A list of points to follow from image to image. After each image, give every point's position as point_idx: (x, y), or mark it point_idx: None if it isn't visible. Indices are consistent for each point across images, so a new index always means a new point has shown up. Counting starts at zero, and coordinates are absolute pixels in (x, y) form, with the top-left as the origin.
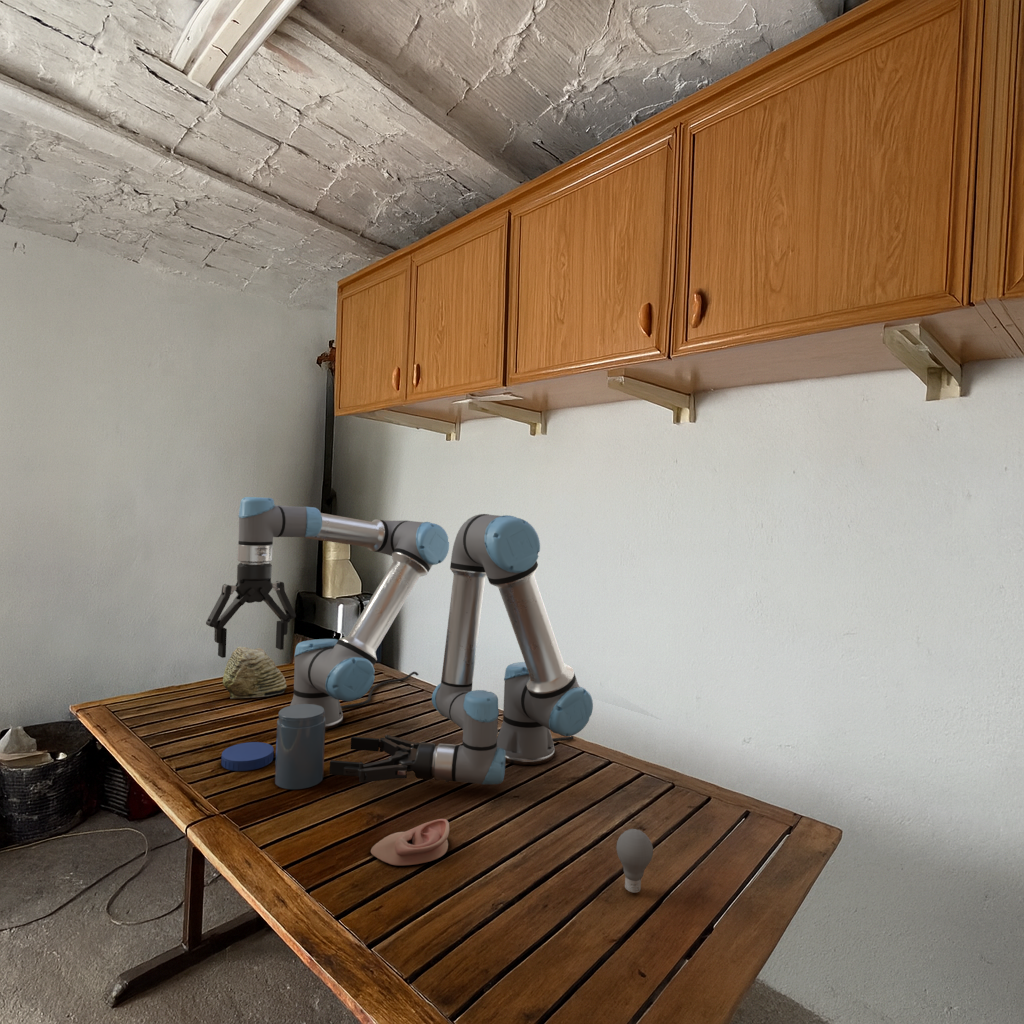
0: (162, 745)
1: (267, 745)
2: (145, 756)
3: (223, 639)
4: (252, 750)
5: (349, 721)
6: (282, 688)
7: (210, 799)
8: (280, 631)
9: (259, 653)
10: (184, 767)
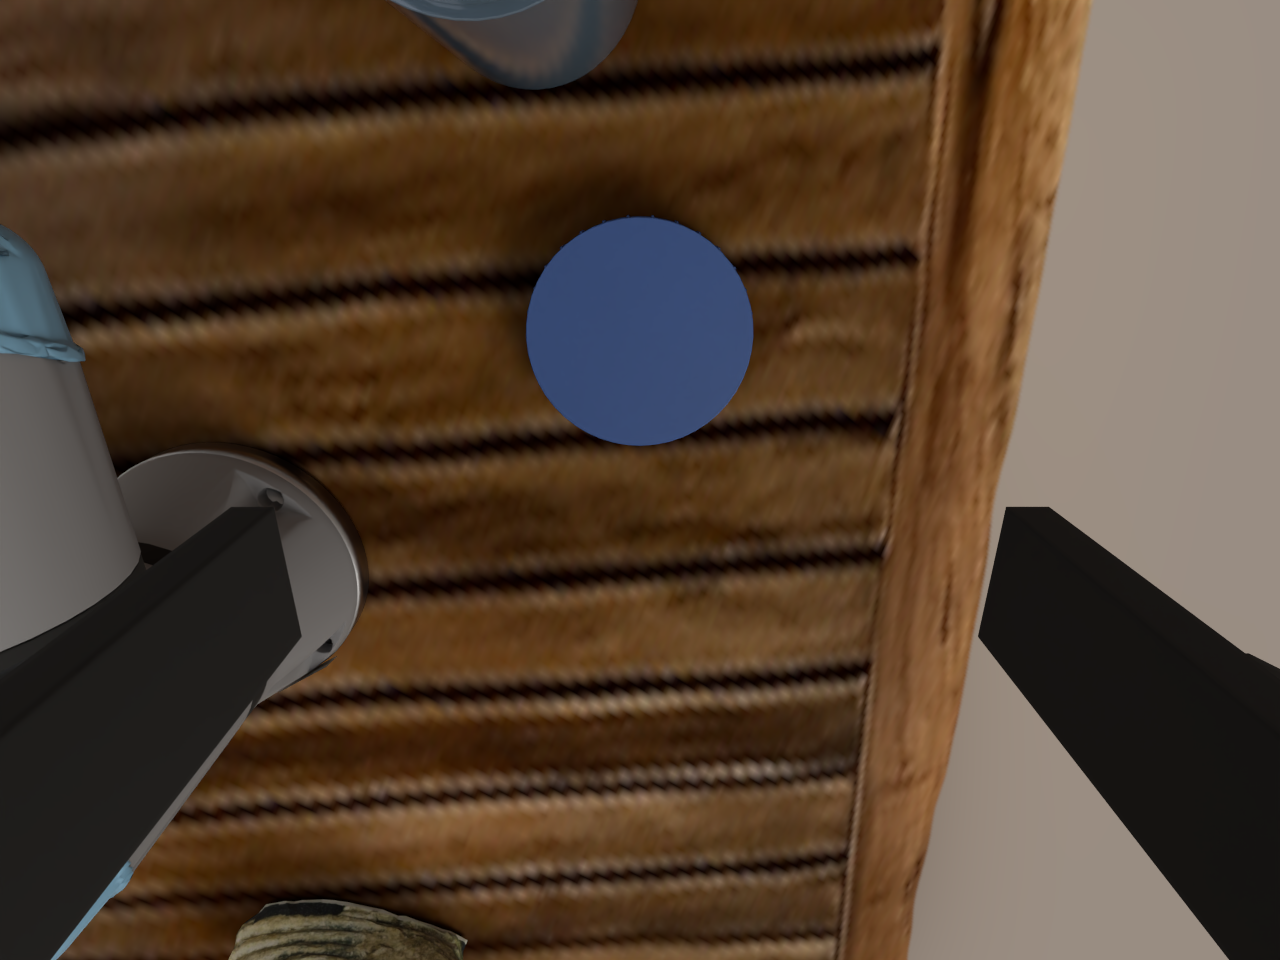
0: (830, 667)
1: (541, 350)
2: (917, 605)
3: (1228, 650)
4: (620, 333)
5: None
6: (260, 922)
7: (929, 20)
8: (99, 687)
9: None
10: (859, 424)
